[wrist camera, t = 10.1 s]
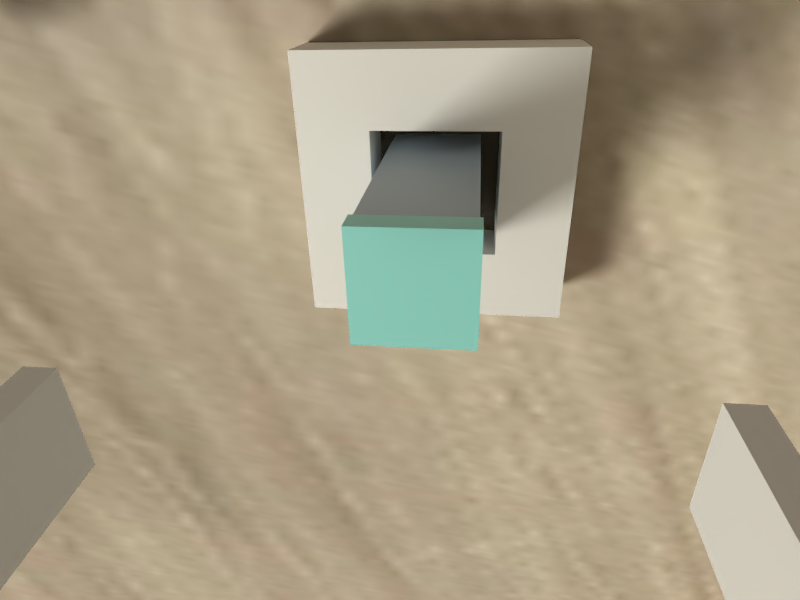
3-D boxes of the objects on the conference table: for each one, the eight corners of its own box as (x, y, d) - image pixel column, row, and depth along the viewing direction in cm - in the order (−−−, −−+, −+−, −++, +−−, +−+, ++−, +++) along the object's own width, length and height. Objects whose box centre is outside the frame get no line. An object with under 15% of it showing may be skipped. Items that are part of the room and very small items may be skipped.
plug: (394, 131, 28) (341, 226, 17) (483, 131, 27) (483, 230, 17) (396, 215, 30) (350, 344, 19) (479, 216, 29) (477, 350, 19)
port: (306, 42, 26) (287, 50, 24) (581, 39, 25) (592, 46, 22) (328, 280, 32) (314, 307, 30) (552, 288, 31) (558, 317, 28)
